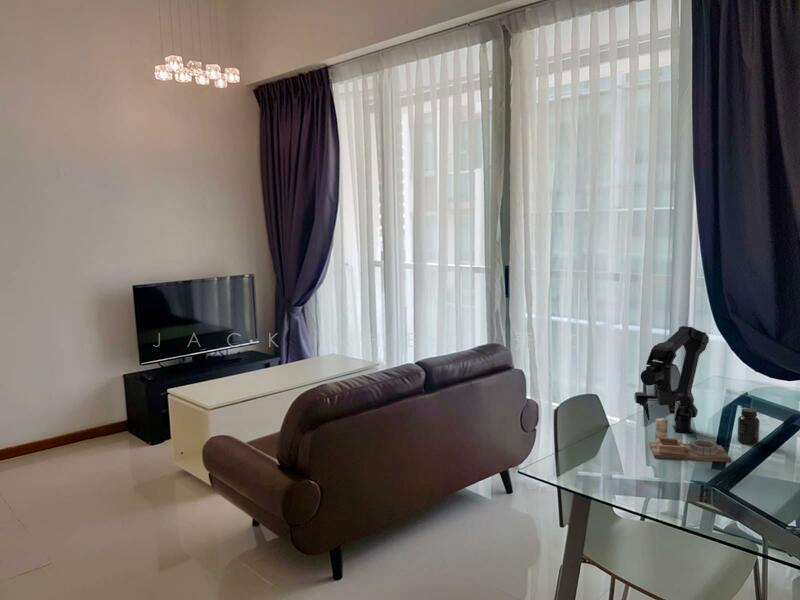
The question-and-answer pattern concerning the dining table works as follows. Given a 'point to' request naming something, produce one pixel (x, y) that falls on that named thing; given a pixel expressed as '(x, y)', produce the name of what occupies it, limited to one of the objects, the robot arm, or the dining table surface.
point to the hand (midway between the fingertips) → (661, 420)
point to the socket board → (688, 450)
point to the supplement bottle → (748, 427)
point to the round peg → (661, 428)
